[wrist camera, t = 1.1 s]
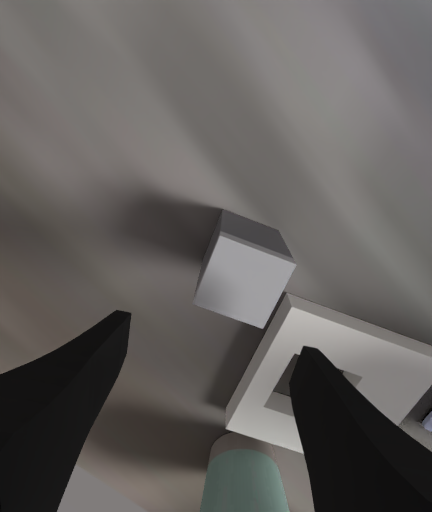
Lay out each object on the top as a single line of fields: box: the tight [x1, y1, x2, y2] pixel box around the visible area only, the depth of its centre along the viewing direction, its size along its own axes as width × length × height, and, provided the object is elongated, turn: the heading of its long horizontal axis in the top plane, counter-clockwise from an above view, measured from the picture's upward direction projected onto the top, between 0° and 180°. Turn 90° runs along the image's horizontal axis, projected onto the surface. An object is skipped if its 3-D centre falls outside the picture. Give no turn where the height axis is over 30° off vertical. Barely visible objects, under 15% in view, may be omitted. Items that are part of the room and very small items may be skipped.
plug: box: [193, 209, 297, 329], centre depth 18 cm, size 4×4×6 cm
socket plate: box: [226, 293, 432, 454], centre depth 24 cm, size 12×12×2 cm
